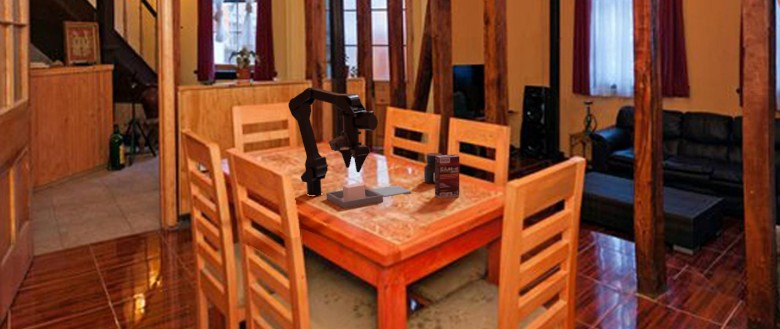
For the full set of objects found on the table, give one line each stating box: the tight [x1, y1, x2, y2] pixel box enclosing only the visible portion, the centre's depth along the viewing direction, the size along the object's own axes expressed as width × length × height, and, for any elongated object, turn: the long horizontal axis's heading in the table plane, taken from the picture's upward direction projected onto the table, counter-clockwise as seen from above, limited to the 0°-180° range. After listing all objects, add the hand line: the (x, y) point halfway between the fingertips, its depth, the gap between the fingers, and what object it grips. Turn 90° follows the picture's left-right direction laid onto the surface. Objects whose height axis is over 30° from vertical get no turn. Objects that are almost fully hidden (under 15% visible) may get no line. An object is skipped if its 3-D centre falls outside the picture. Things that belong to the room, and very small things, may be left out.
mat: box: [370, 184, 412, 198], centre depth 221 cm, size 12×12×1 cm
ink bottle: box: [423, 152, 443, 185], centre depth 235 cm, size 10×9×12 cm
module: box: [342, 182, 366, 201], centre depth 209 cm, size 4×7×6 cm, turn 120°
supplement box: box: [434, 153, 460, 199], centre depth 212 cm, size 9×5×16 cm, turn 105°
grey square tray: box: [325, 187, 384, 210], centre depth 209 cm, size 16×16×3 cm
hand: (352, 169), depth 207 cm, fingers open, 9 cm apart
